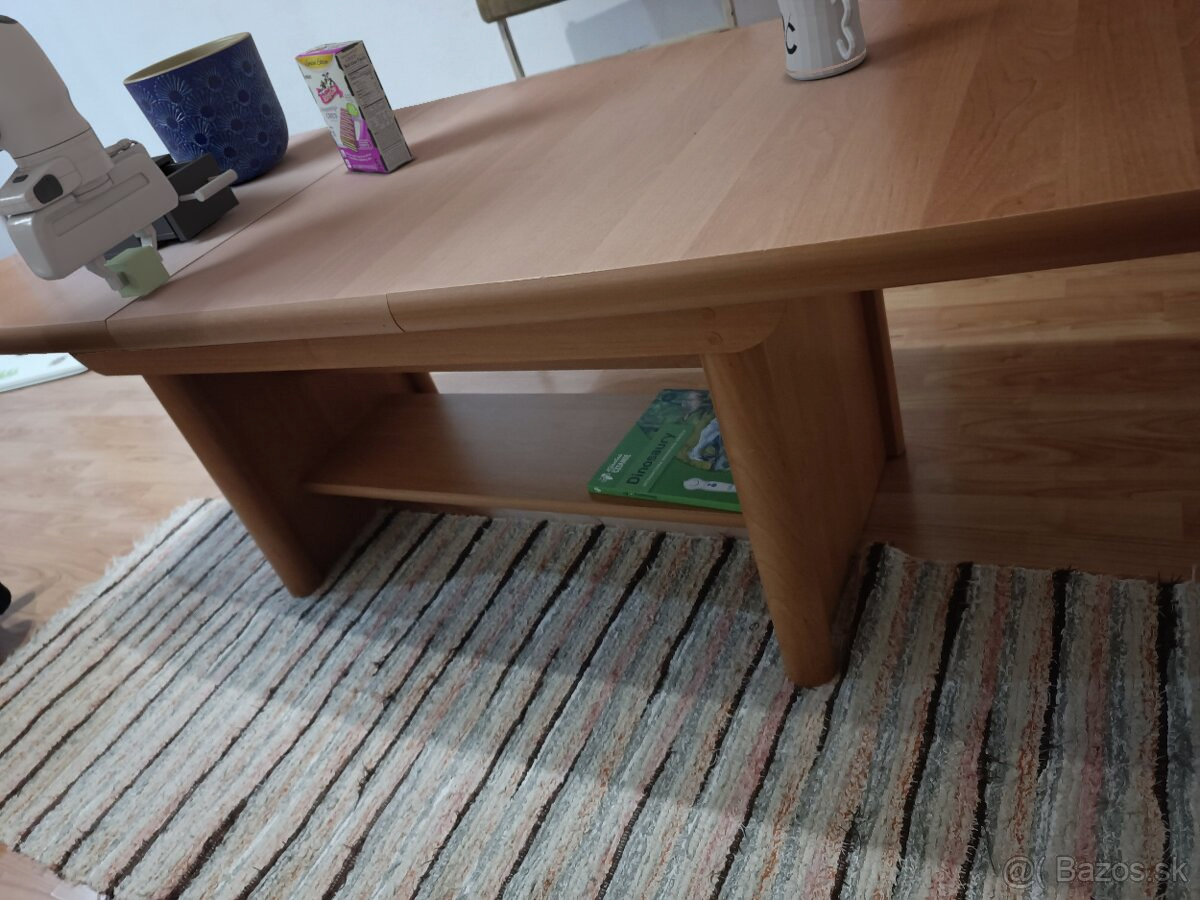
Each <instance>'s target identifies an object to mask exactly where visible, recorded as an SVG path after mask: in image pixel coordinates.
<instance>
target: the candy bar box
mask: <svg viewBox="0 0 1200 900" xmlns="http://www.w3.org/2000/svg"><path fill="white" fill-rule="evenodd" d="M294 60H295V62H296V64H297V66H298V68H299V70H300V72H301V74H302V76H303V79H304V81H305V83H306V85H307V87H308V89H309V91H310V93H311V95H312V98H313V99H314V101H315V104H316V105H317V108H318V110H319V112H320V114H321V116H322V118H323V120H324V122H325V125H326V127H327V128H328V131H329V133H330V135H331V137H332V139H333V142H334V144H335V145H336V148H338V151H339V154H340V156H341V158H342V160H343V162H344V164H345V166H346V168H347V170H348V171H349V172H365V173H381V174H390V173H393V172H394V171H396V170H398V169H400V168H401V167H403V166H404V165H406V164H408V163H409V162H411V161H413V160H414V157H413V155H412V153H411V151H410V148H409V146H408V143H407V141H406V139H405V136H404V133H403V132H402V129H401V127H400V125H399V122H398V120H397V118H396V116H395V113H394V110H393V109H392V105H391V103H390V101H389V99H388V96H387V95H386V92H385V90H384V88H383V84H382V83H381V80H380V78H379V76H378V73H377V71H376V69H375V66H374V63H373V62H372V60H371V57H370V55H369V52H368V50H367V47H366V46H365V43H364V40H363V39H358V40H348V41H341V42H331V43H325V44H320V45H318V46H317V45H316V46H315V47H313V48H310V49H308V50H307V51H304V52H302V53H299V54H298V55H297V56H295V57H294Z"/></svg>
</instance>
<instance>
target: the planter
mask: <svg viewBox="0 0 1200 900" xmlns="http://www.w3.org/2000/svg"><path fill="white" fill-rule="evenodd" d="M122 83H123V86H124V87H125V89H126V91H127V92H128V93H129V95H130V97H131V98H132V100H134V101H133V102H135V104H136V105H137V107H138V108H139V110H140V111H141V113H142V114H143V115H144V117H145V118H146V120H147V121H148V123H149V124H150V126H151V127H152V129H153V131H154V132H155V133H156V135H157V137H158V138H159V139H160V141H161V142H162V144H163V145H164V147H165V148H166V150H167V151H168V152H169V153H170V154H171V156H172V158H173V159H174V161H175V163H176V162H181V161H186V160H190V159H195V158H196V159H197V158H198V157H200V156H202V155H203V154H205V153H210V152H211V154H212V155H213V157H214V159H215V161H216V163H217V164H218V166H219V168H220V170H221V171H222V173H225V172H226V171H228V170H230V169H232V170H234V171H235V172H236V174H237V179H236V180H235V181H233V182H232V183H230V184H229V186H230V187H231V186H233V185H238V184H240V183H241V184H242V183H244V182H246V181H247V182H248V181H249V180H251V179H254V178H256V177H259V176H261V175H262V174H264V173H266V172H268V171H270V170H271V169H273V168H274V167H275V166H277V165H278V164H279V163H280V162H281V161H282V159H283V158H284V156H285V155H286V152H287V150H288V146H289V140H290V136H289V134H290V133H289V128H288V123H287V119H286V115H285V112H284V110H283V107H282V105H281V103H280V101H279V98H278V95H277V92H276V90H275V88H274V86H273V84H272V81H271V78H270V76H269V74H268V71H267V69H266V66H265V64H264V62H263V60H262V57H261V54H260V52H259V49H258V47H257V45H256V43H255V40H254V37H253V36H252V33H251V32H249V31H243V32H237V33H234V34H231V35H227V36H224V37H221V38H218V39H215V40H211V41H209V42H205V43H203V44H200V45H197V46H195V47H192V48H190V49H187V50H184V51H181V52H179V53H176V54H174V55H171V56H169V57H167V58H164V59H162V60H160V61H157V62H155V63H152V64H150V65H149V66H146V67H144V68H142V69H140V70H138V71H136V72H134V73H132V74H131V75H129V76H127V77H126V78H124V79H123V81H122ZM169 153H168V154H169Z"/></svg>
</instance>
